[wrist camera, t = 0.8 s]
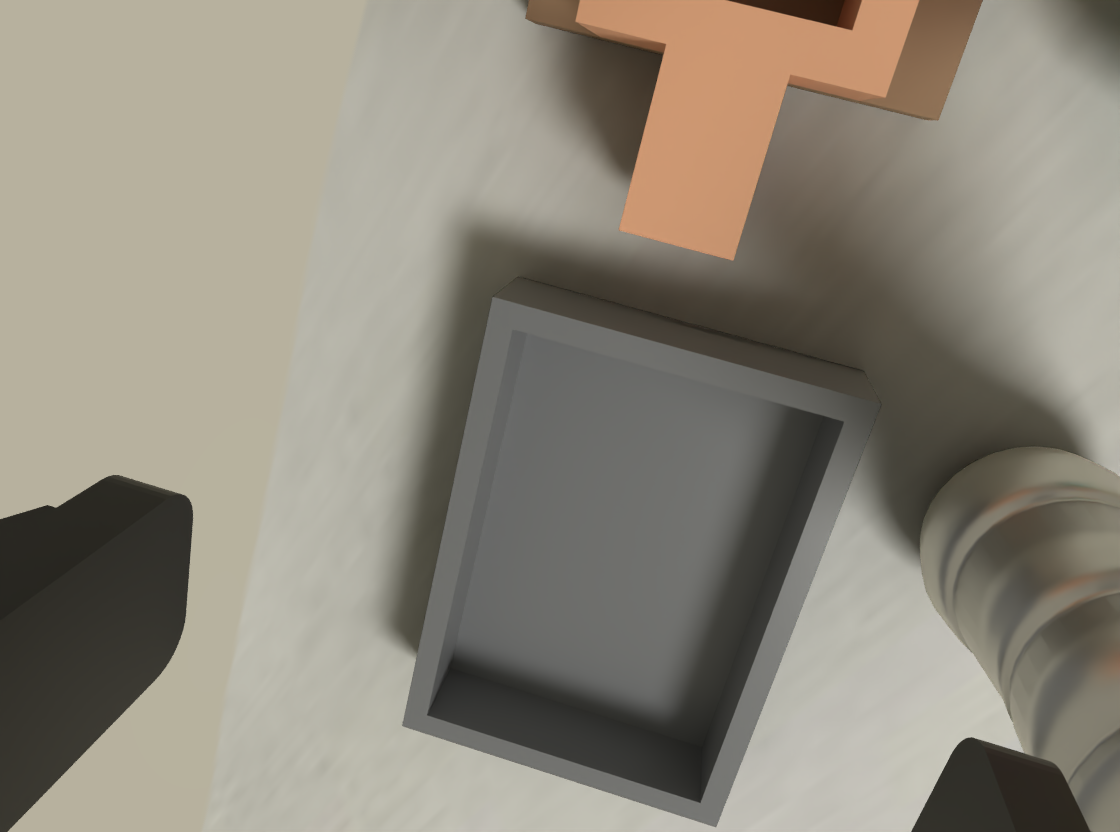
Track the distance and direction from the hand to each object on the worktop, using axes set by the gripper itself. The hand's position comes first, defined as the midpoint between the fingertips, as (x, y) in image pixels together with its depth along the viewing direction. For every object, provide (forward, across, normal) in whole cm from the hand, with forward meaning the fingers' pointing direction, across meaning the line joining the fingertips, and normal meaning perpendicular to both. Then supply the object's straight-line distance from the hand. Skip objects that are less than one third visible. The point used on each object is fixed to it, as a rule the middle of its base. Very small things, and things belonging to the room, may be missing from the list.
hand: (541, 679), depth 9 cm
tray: (+21, -1, +10) cm, 23 cm away
